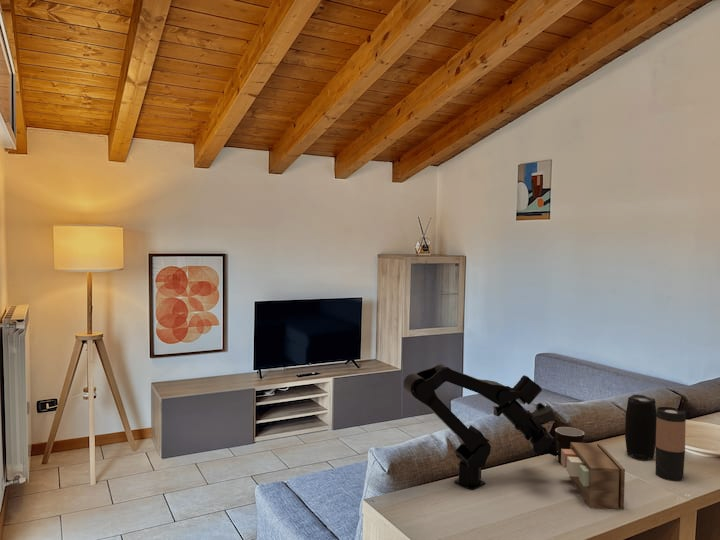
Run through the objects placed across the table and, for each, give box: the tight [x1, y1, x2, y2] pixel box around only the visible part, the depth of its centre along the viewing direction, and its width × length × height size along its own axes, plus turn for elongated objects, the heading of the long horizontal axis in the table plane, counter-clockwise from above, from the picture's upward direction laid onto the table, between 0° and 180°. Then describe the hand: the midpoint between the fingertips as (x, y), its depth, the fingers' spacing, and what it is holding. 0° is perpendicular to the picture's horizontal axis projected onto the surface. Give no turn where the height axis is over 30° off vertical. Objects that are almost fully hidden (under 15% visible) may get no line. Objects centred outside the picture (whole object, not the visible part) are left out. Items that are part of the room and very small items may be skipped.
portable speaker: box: [624, 394, 657, 461], centre depth 176 cm, size 9×9×20 cm
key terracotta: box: [561, 449, 576, 469], centre depth 156 cm, size 6×4×4 cm, turn 84°
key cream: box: [566, 457, 583, 477], centre depth 150 cm, size 6×4×4 cm, turn 84°
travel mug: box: [655, 406, 687, 482], centre depth 161 cm, size 8×8×20 cm
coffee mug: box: [552, 426, 585, 465], centre depth 171 cm, size 12×9×10 cm
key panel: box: [569, 442, 626, 510], centre depth 149 cm, size 8×19×11 cm, turn 174°
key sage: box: [579, 465, 590, 486], centre depth 143 cm, size 6×4×4 cm, turn 84°
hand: (556, 454), depth 156 cm, fingers closed
